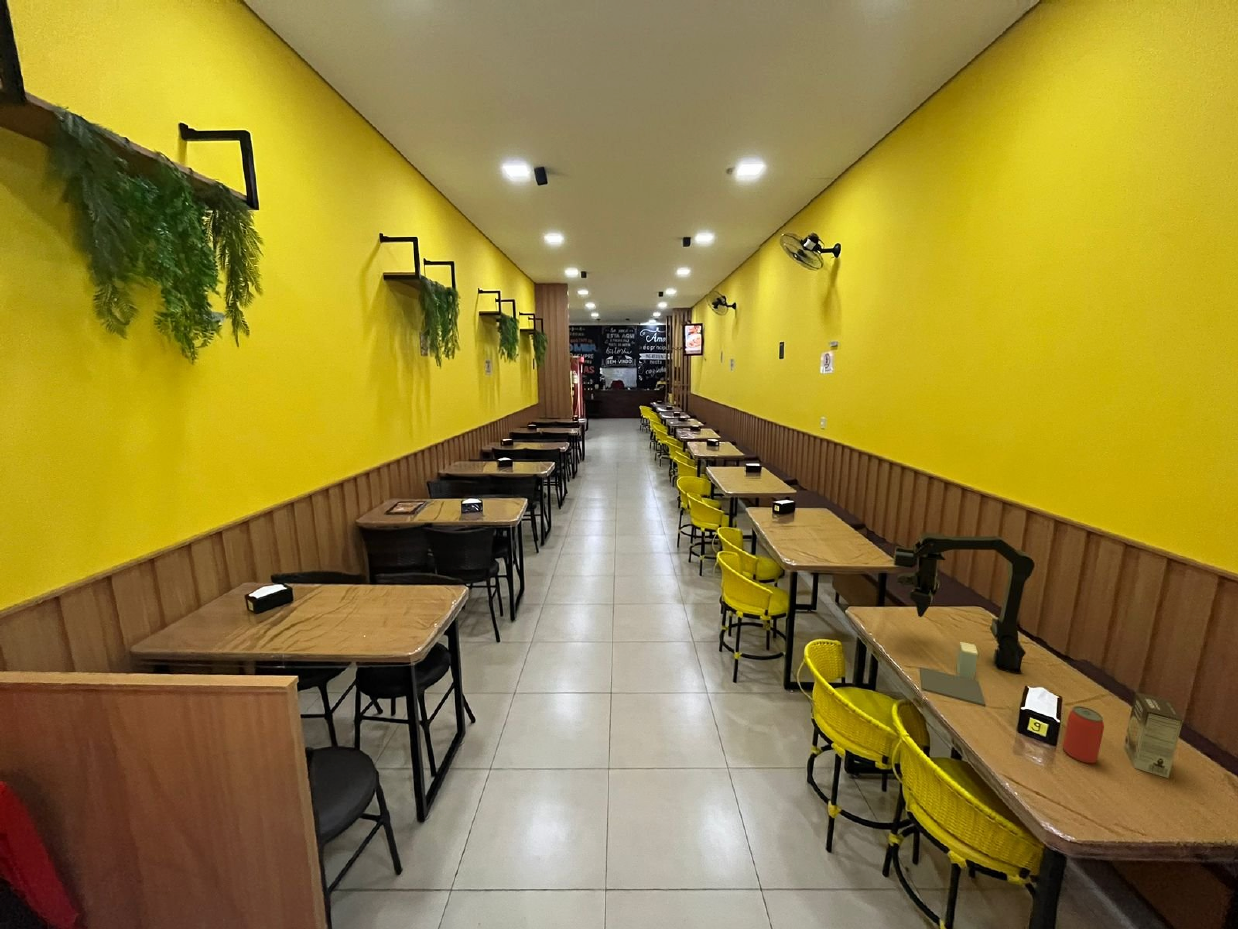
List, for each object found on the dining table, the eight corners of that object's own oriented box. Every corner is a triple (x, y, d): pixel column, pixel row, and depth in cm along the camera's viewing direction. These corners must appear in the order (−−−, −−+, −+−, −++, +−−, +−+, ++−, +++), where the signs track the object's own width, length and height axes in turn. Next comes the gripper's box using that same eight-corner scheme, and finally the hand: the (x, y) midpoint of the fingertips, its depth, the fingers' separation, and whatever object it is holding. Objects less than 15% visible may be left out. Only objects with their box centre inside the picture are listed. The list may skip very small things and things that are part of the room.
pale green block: (970, 669, 163) (974, 644, 162) (973, 679, 158) (977, 653, 157) (956, 666, 165) (960, 641, 164) (958, 675, 160) (962, 650, 158)
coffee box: (1121, 745, 130) (1134, 690, 127) (1156, 755, 127) (1169, 699, 124) (1133, 768, 123) (1146, 710, 120) (1170, 779, 119) (1185, 720, 116)
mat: (978, 682, 156) (978, 681, 156) (985, 706, 145) (985, 704, 145) (919, 668, 164) (919, 666, 164) (922, 689, 153) (922, 688, 152)
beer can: (1090, 750, 128) (1098, 709, 126) (1101, 768, 123) (1111, 725, 120) (1058, 742, 131) (1065, 701, 129) (1067, 759, 125) (1076, 717, 123)
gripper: (906, 557, 183) (902, 596, 186) (894, 572, 169) (890, 614, 172) (941, 564, 176) (937, 605, 178) (933, 580, 162) (928, 624, 164)
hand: (922, 612), depth 173 cm, fingers open, 9 cm apart
